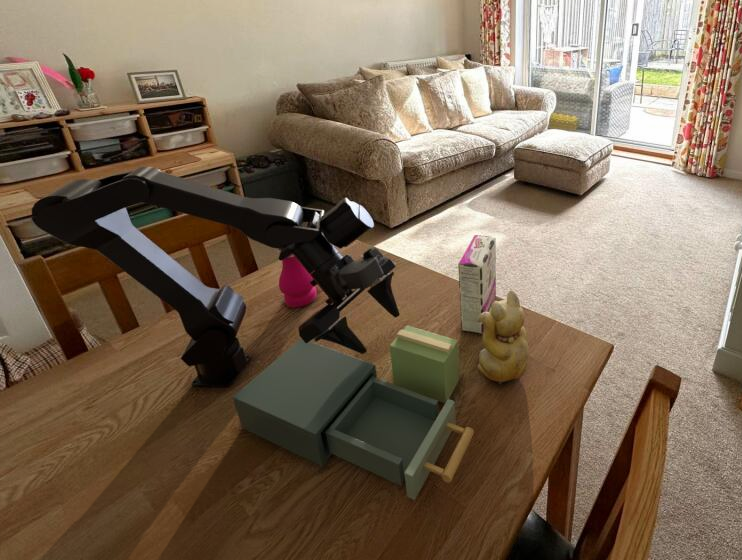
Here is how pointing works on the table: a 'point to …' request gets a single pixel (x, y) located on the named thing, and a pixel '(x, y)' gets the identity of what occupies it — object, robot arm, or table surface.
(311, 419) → the cabinet
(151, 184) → the robot arm
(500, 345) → the decorative figurine
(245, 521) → the table surface
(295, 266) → the pepper mill
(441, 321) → the table surface
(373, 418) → the drawer
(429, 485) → the table surface
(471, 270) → the candy bar box
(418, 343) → the snack bag
